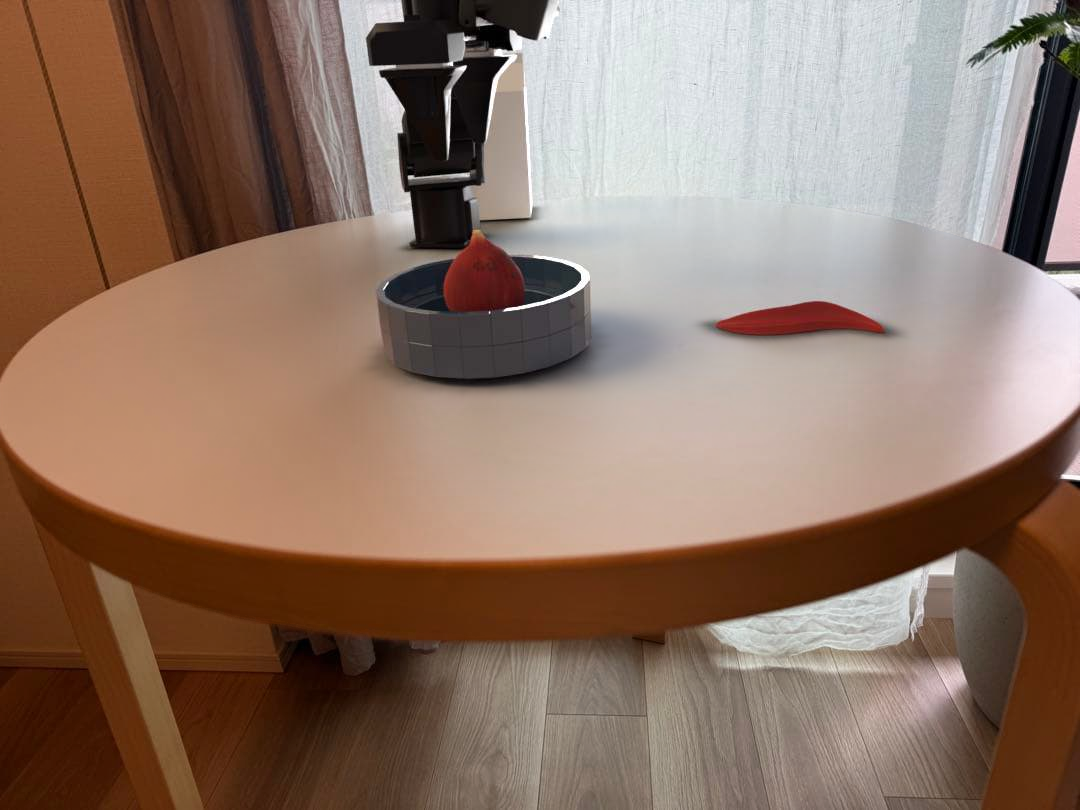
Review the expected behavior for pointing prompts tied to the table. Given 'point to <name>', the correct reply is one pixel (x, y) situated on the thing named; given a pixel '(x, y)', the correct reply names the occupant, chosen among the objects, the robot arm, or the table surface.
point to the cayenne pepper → (799, 319)
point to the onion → (483, 278)
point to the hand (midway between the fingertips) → (461, 151)
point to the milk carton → (507, 150)
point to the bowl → (485, 322)
